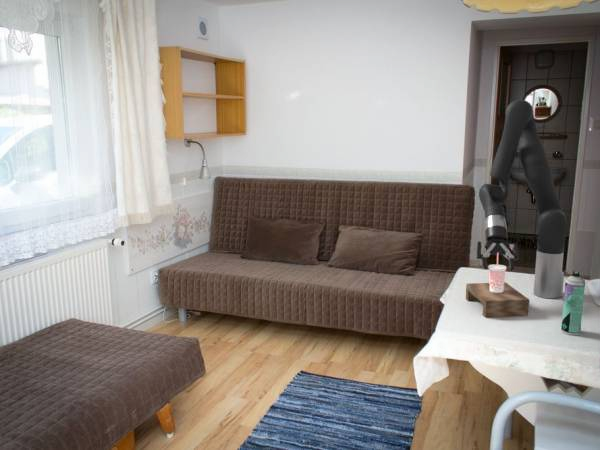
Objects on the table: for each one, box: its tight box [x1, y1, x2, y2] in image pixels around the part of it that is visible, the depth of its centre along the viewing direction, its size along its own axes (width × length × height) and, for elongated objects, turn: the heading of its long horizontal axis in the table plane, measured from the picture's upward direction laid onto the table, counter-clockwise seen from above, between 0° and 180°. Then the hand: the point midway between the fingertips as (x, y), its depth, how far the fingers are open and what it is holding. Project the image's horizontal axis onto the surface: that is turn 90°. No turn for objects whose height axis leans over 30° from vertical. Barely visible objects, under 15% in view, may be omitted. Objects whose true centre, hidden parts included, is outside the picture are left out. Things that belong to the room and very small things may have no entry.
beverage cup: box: [487, 253, 508, 293], centre depth 196 cm, size 6×6×14 cm
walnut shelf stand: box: [465, 281, 530, 319], centre depth 198 cm, size 15×19×6 cm
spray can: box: [560, 270, 586, 336], centre depth 174 cm, size 6×6×20 cm
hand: (498, 269), depth 194 cm, fingers open, 8 cm apart
